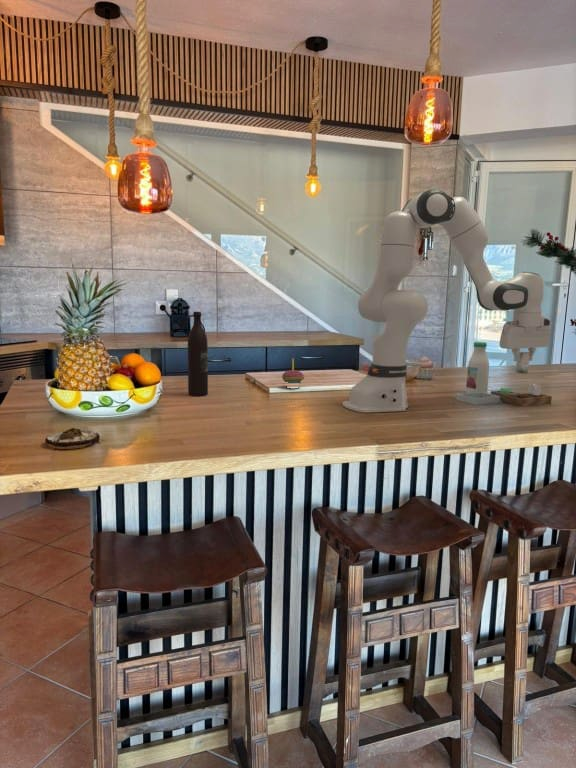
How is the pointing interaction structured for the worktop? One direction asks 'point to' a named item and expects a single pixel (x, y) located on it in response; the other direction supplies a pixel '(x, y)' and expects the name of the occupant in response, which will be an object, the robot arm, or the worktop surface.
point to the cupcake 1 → (293, 375)
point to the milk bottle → (478, 369)
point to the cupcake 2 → (426, 369)
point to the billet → (523, 363)
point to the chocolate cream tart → (72, 439)
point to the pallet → (526, 399)
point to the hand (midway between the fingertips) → (523, 361)
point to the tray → (477, 398)
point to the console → (502, 393)
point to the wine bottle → (197, 359)
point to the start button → (505, 390)
